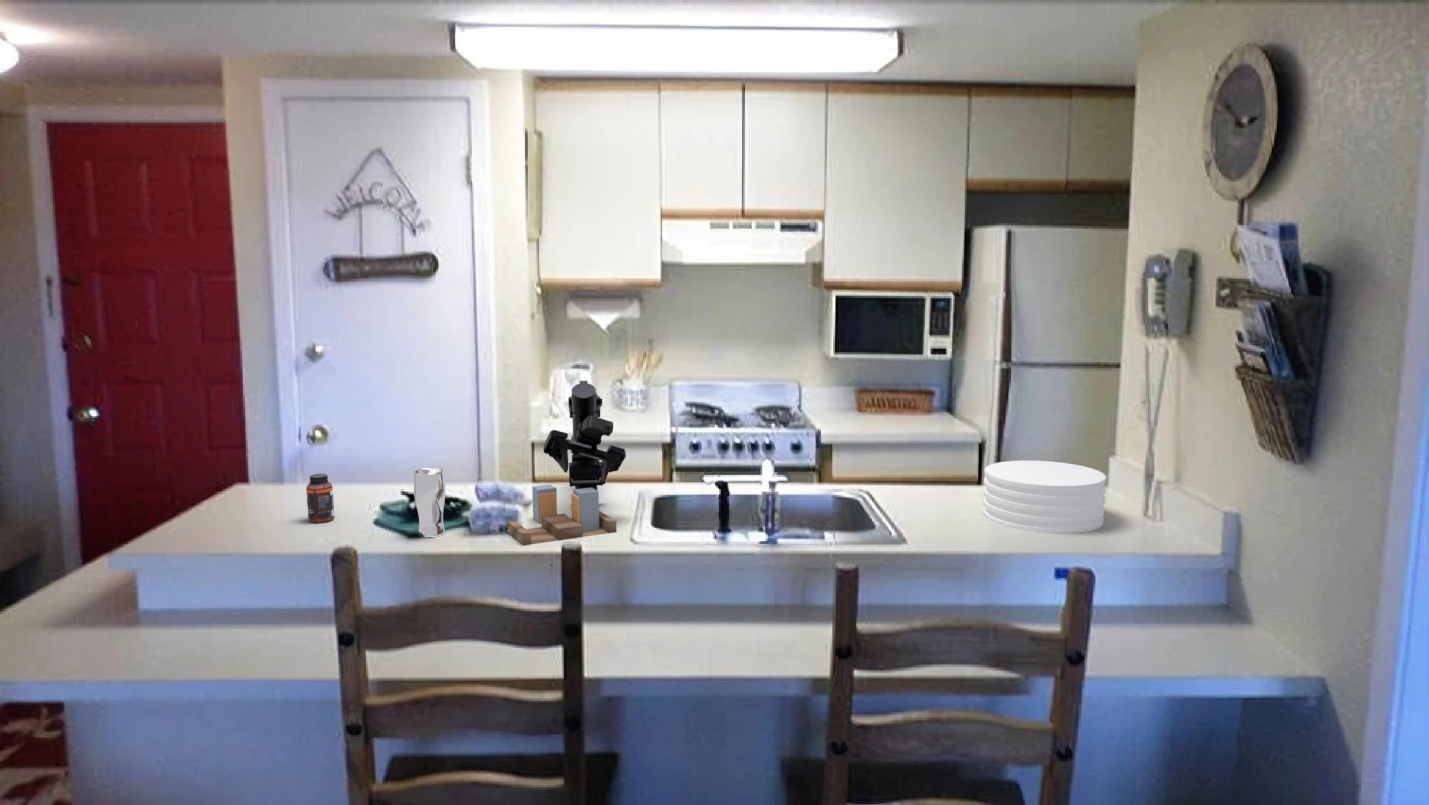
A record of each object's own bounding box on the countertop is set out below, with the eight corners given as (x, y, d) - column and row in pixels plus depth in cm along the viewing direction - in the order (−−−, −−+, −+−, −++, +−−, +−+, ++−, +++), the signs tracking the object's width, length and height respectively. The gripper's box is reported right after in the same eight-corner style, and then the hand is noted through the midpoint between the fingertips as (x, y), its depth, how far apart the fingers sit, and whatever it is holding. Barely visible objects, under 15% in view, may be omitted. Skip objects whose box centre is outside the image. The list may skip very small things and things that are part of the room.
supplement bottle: (340, 518, 239) (337, 473, 237) (321, 524, 234) (318, 478, 232) (322, 516, 242) (319, 471, 240) (302, 522, 236) (299, 476, 235)
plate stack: (1109, 511, 245) (1112, 467, 243) (1095, 540, 220) (1097, 490, 219) (996, 499, 258) (998, 456, 256) (970, 524, 234) (972, 477, 232)
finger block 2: (571, 527, 227) (570, 489, 226) (592, 524, 230) (591, 487, 228) (578, 532, 223) (577, 494, 222) (599, 529, 226) (598, 491, 224)
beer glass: (419, 539, 221) (416, 475, 219) (413, 532, 227) (410, 469, 225) (450, 535, 224) (447, 472, 222) (443, 528, 230) (440, 466, 228)
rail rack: (507, 536, 224) (507, 521, 224) (597, 523, 234) (597, 509, 234) (523, 549, 214) (522, 534, 213) (616, 535, 224) (616, 521, 223)
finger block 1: (551, 520, 237) (550, 484, 236) (558, 525, 233) (557, 488, 232) (533, 522, 235) (532, 486, 234) (540, 527, 231) (538, 490, 230)
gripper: (559, 395, 227) (559, 441, 216) (633, 416, 234) (636, 462, 222) (543, 428, 233) (541, 475, 222) (615, 448, 240) (617, 494, 229)
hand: (585, 476), depth 223 cm, fingers open, 9 cm apart
